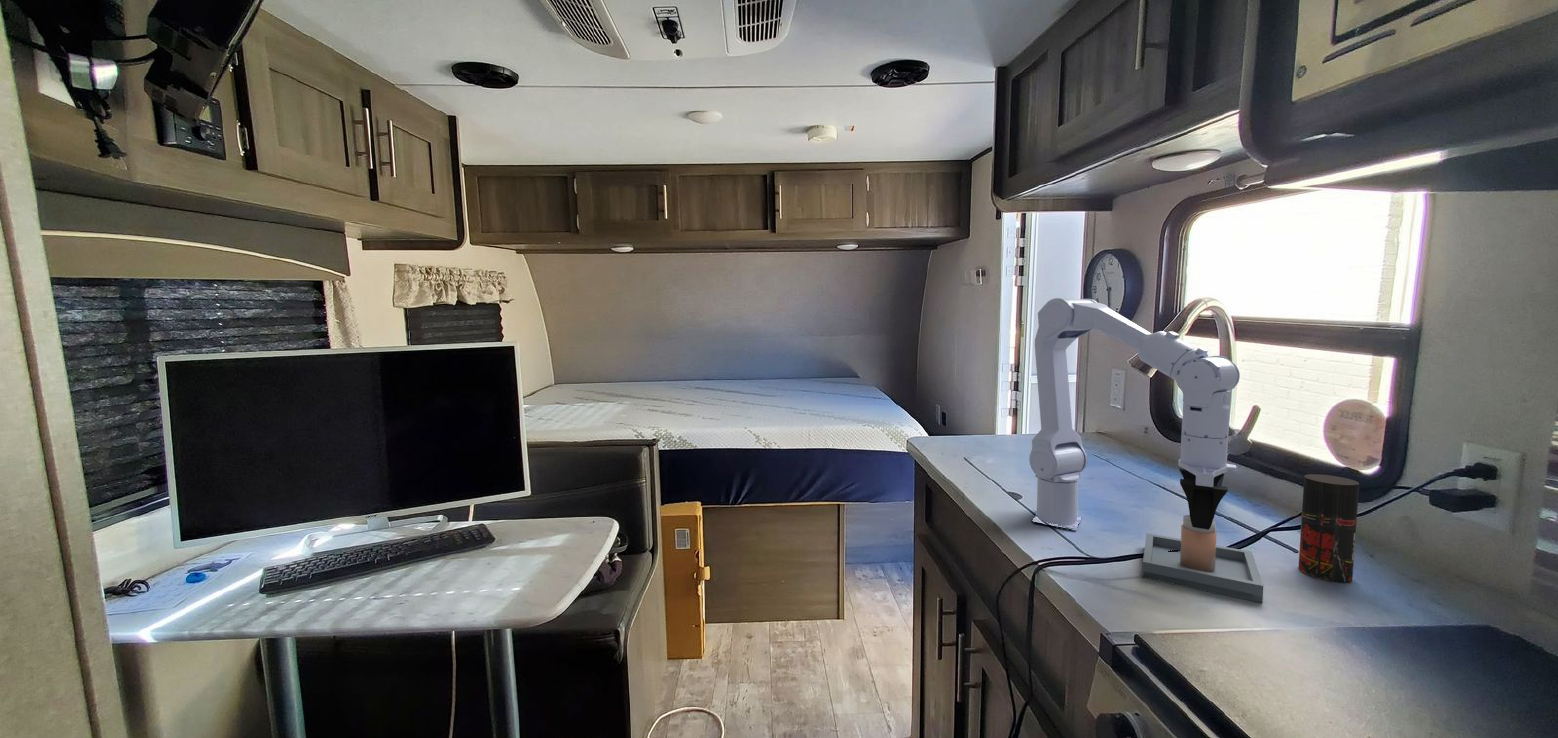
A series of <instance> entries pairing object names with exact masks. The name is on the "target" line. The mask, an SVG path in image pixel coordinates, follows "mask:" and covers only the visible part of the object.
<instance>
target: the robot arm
mask: <svg viewBox="0 0 1558 738" xmlns="http://www.w3.org/2000/svg"><path fill="white" fill-rule="evenodd" d="M1037 320H1038V322H1037V323H1038V328H1037V330H1036V331H1037V332H1036V335H1035V338H1034V355H1035V356H1034V357H1035V364H1036V365H1035V366H1036V379H1037V381H1036V382H1037V391H1038V404H1039V416H1040V417H1039V419H1040V430H1039V431H1038V432H1037V433H1036V435H1034V437H1033V439H1031V450H1030V454H1029V459H1028V460H1029V465H1030V468H1031V471H1032V472H1033V473H1034V474H1035V478H1037V479H1036V480H1037V483H1036V485H1037V486H1036V489H1037V490H1036V512H1037V517H1038V518H1039V519H1040V520H1043V521H1045V522H1048V523H1051V524H1052V523H1053V524H1058V526H1061V525H1062V527H1065V528H1071V529H1077V530H1078V528H1079V526H1078V524H1079V523H1078V522H1077V520H1081V521H1082V519H1081V517H1077V514H1078V505H1079V503H1078V499H1079V478H1081V472H1083V471H1085V469H1086V468H1087V465H1088V455H1087V452H1086V451H1085V450H1086V449H1084V446H1083V443H1082V437H1081V435H1080V434H1079V433H1077V431H1075V429H1073V423H1072V409H1071V399H1070V398H1071V397H1070V395H1071V394H1070V384H1069V382H1070V381H1069V371H1068V369H1069V368H1068V359H1067V358H1068V356H1067V349H1068V348H1069V346H1071V345H1072V343H1073V342H1075V341H1076V340H1077V339H1078V338H1080V337H1082V336H1084V335H1085V334H1087V333H1089V332H1092V331H1093V330H1097V331H1100V332H1102V333H1103V334H1106V335H1107V336H1109V337H1111V338H1113V339H1116V340H1118V341H1119V342H1121V343H1123V344H1125V345H1127V346H1129V347H1131V348H1133V349H1135V350H1137V355H1138V358H1139V360H1140V361H1141V362H1143V363H1145V364H1146V365H1149V367H1151V368H1154V369H1155V370H1157V371H1159V372H1160V373H1162V374H1163V375H1165V376H1167V377H1169V378H1171V379H1172V380H1174V381H1175V383H1176V385H1177V387H1178V388H1179V389H1180V391H1181V393H1182V418H1181V419H1182V421H1181V434H1180V435H1181V436H1180V437H1181V438H1180V455H1179V459H1178V461H1177V464H1178V466H1179V468H1178V470H1179V472H1180V474H1181V476H1182V478H1180V479H1179V484H1180V486H1181V488H1182V491H1183V492H1184V494H1185V497H1186V500H1187V505H1188V512H1189V515H1190V519H1191V524H1192V527H1195V528H1201V529H1207V530H1209V529H1210V527H1211V525H1212V522H1213V520H1214V519H1215V515H1216V511H1217V508H1218V506H1219V504H1220V502H1221V501H1222V500H1223V498H1224V497H1225V496H1226V495H1227V493H1228V491H1229V487H1228V486H1226V485H1225V486H1224V485H1218V484H1219V482H1220V481H1221V480H1222V478H1223V477H1224V473H1227V472H1234V473H1235V472H1237V471H1238V469H1237V468H1238V467H1237V466H1236V464H1232V463H1231V464H1229V463H1228V451H1229V450H1228V448H1229V447H1228V445H1229V434H1230V433H1229V431H1230V415H1231V414H1230V413H1231V412H1230V411H1231V394H1232V390H1233V389H1235V387H1236V386H1237V385H1238V384H1239V382H1240V379H1241V374H1240V370H1239V368H1238V367H1237V365H1236V364H1235V363H1234V362H1233V361H1232V360H1230V359H1229V358H1228V357H1227V356H1223V355H1212V356H1211V355H1210V356H1209V354H1208V352H1209V351H1208V350H1207V349H1206V348H1204V347H1196V346H1193V345H1191V344H1189V343H1187V342H1185V341H1183V340H1182V339H1179V337H1180V334H1178V333H1177V332H1174V331H1167V332H1166V331H1163V330H1160V331H1156V332H1152V333H1151V331H1148V330H1146V329H1145V328H1143V327H1141V326H1139V325H1138V324H1136V323H1135V322H1134V321H1131V320H1130V319H1129V318H1126V317H1125V316H1123V315H1121V314H1120V313H1118V312H1116V311H1114V310H1112V309H1111V308H1110V307H1109V306H1108V305H1107V304H1104V303H1101V302H1098V301H1096V300H1095V299H1092V298H1082V299H1081V298H1078V299H1077V298H1076V299H1075V298H1073V299H1072V298H1060V297H1056V298H1052V299H1050V300H1048V301H1047V302H1046V303H1045V304H1044V305H1043V306H1042V307H1041V308H1040V309H1039V311H1038V312H1037ZM1079 525H1080V524H1079ZM1077 527H1078V528H1077Z"/></svg>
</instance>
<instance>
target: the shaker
mask: <svg viewBox="0 0 1558 738" xmlns="http://www.w3.org/2000/svg"><path fill="white" fill-rule="evenodd" d="M1216 522H1217V521H1216V520H1214V519H1213V522H1212V525H1211V527H1210V529H1209V530H1207V529H1201V528H1195V527H1192V524H1191V519H1190V514H1185V515H1184V516H1183V519H1182V524H1181V528H1180V530H1181V531H1180V539H1181V550H1180V563H1181V565H1183V566H1185V567H1187V568H1189V569H1194V570H1199V571H1204V572H1212V571H1214V570H1215V561H1216V545H1217V539H1218V538H1217V536H1218V533H1217V532H1218V530H1216V524H1217V523H1216Z"/></svg>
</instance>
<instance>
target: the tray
mask: <svg viewBox="0 0 1558 738" xmlns="http://www.w3.org/2000/svg"><path fill="white" fill-rule="evenodd" d="M1170 550H1171V551H1172V550H1181V538H1177V537H1170V536H1165V535H1158V534H1155V533H1147V532H1146V536H1145V543H1144V551H1143V557H1142V578H1144V579H1149V580H1153V581H1158V582H1162V583H1167V584H1171V585H1177V586H1181V587H1185V588H1190V589H1195V590H1199V591H1205V592H1208V593H1214V594H1219V595H1223V596H1227V597H1230V598H1231V597H1232V598H1237V599H1241V600H1246V601H1251V602H1255V603H1260V604H1263V600H1264V584H1263V581H1262V578H1261V575H1260V572H1259V568H1258V566H1257V563H1256V561H1255V558H1254V554H1253V551H1250V550H1244V549H1240V548H1239V549H1238V548H1234V547H1233V548H1232V547H1229V546H1228V547H1227V546H1221V545H1217V544H1216V561H1215V570H1214V571H1212V572H1204V571H1199V570H1194V569H1189V568H1187V567H1185V566H1183V565H1181V563H1180V551H1178V552H1168V551H1170Z"/></svg>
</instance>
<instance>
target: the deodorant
mask: <svg viewBox="0 0 1558 738" xmlns="http://www.w3.org/2000/svg"><path fill="white" fill-rule="evenodd" d="M1302 490H1303V491H1302V504H1301V505H1302V506H1301V521H1300V523H1301V524H1300V534H1299V535H1300V537H1299V538H1300V539H1299V551H1298V552H1299V553H1298V567H1297V568H1298V570H1299V572H1300V573H1303V574H1304V575H1307V576H1308V577H1312V578H1315V579H1318V580H1321V581H1325V582H1326V581H1327V582H1330V583H1337V584H1347V583H1352V581H1353V580H1354V579H1353V575H1354V564H1355V563H1354V562H1355V549H1356V535H1357V521H1358V509H1359V507H1358V506H1359V496H1360V495H1359V493H1360V482H1358V481H1356V480H1353V479H1351V478H1346V477H1343V476H1341V477H1340V476H1335V475H1331V474H1330V475H1329V474H1316V473H1315V474H1314V473H1313V474H1312V473H1309V474H1305V475H1303V489H1302Z"/></svg>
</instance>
